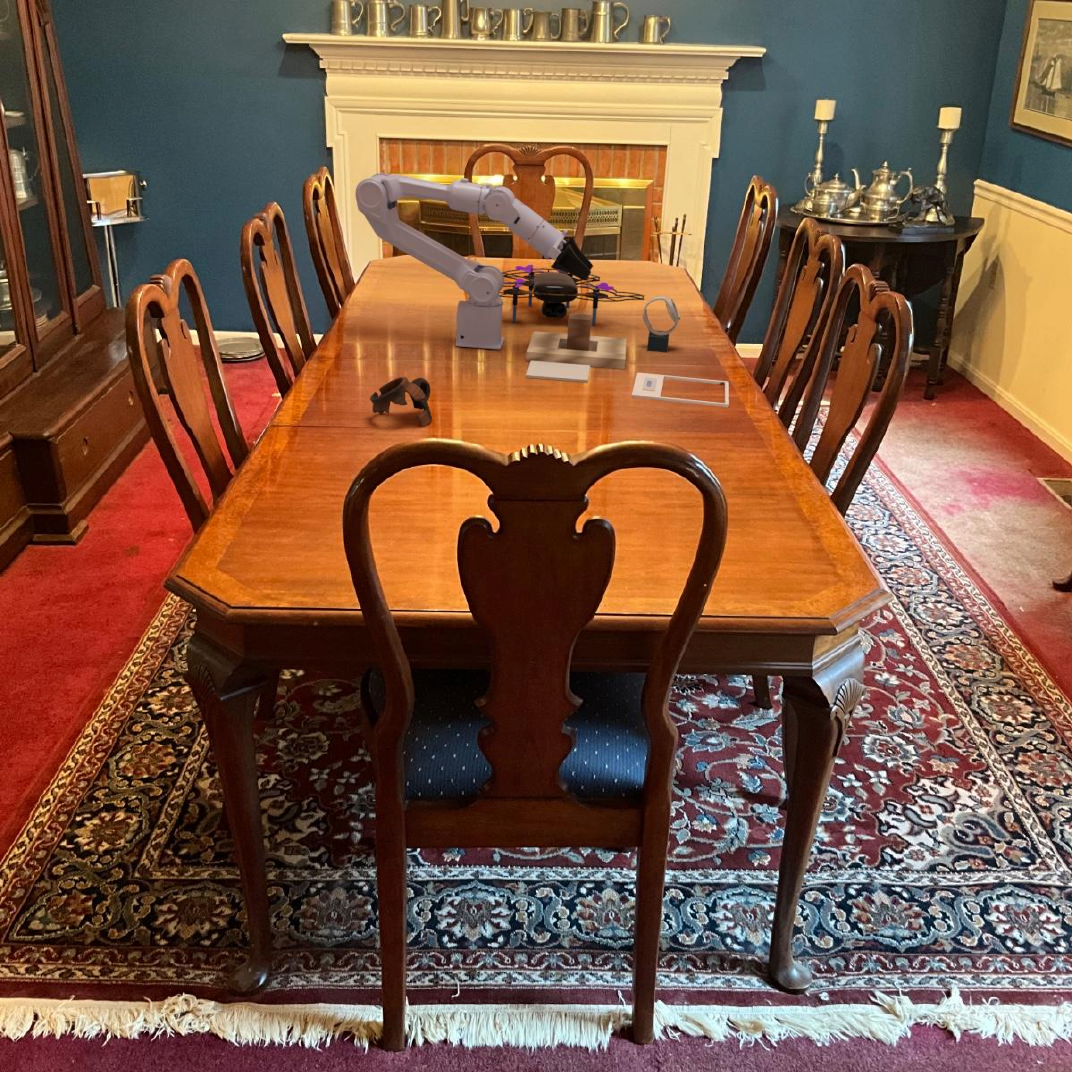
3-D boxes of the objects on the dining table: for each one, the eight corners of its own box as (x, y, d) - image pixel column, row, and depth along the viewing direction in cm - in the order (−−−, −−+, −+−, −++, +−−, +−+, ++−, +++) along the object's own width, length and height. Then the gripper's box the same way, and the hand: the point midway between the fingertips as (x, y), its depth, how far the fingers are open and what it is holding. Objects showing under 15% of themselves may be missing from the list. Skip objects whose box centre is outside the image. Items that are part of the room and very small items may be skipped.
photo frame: (637, 371, 211) (728, 380, 209) (636, 376, 212) (727, 386, 210) (631, 393, 198) (728, 403, 196) (631, 399, 199) (728, 409, 197)
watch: (676, 353, 228) (682, 302, 223) (638, 349, 228) (643, 298, 224) (676, 346, 233) (682, 296, 228) (640, 342, 233) (645, 292, 229)
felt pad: (525, 377, 206) (525, 375, 206) (530, 362, 215) (530, 360, 215) (587, 382, 205) (587, 380, 205) (589, 367, 214) (590, 365, 214)
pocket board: (526, 361, 216) (526, 351, 215) (533, 340, 230) (533, 331, 229) (624, 369, 215) (625, 359, 214) (625, 347, 229) (626, 338, 228)
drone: (468, 283, 233) (467, 257, 258) (466, 326, 237) (465, 297, 263) (648, 291, 237) (629, 264, 262) (643, 333, 241) (626, 304, 266)
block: (565, 356, 221) (568, 318, 217) (567, 350, 225) (570, 313, 221) (587, 358, 220) (590, 320, 217) (588, 352, 224) (591, 314, 221)
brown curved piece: (420, 436, 175) (394, 394, 172) (379, 447, 181) (354, 407, 178) (454, 399, 184) (430, 358, 180) (414, 411, 189) (390, 372, 186)
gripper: (544, 219, 206) (599, 263, 208) (550, 210, 219) (603, 251, 221) (522, 249, 209) (577, 291, 211) (530, 238, 222) (582, 279, 224)
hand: (589, 273), depth 216 cm, fingers open, 7 cm apart
